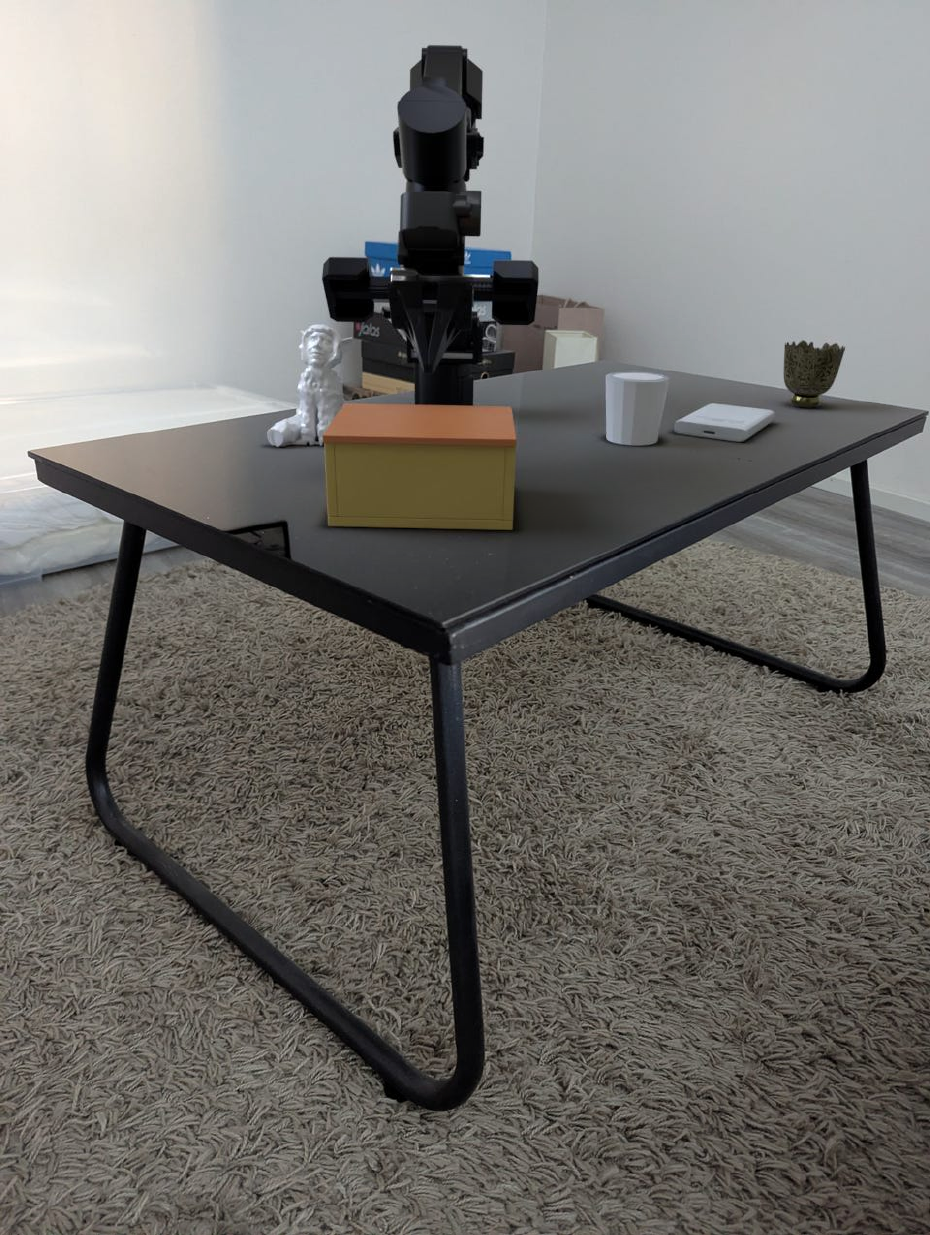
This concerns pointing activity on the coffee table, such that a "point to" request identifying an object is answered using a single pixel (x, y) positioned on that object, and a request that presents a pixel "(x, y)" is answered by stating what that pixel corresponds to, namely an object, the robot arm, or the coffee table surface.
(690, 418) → the hard drive
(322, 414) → the sitting furry creature
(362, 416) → the lid
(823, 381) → the cup
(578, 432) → the coffee table surface
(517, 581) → the coffee table surface
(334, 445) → the open yellow box
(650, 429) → the shot glass
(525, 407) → the coffee table surface
